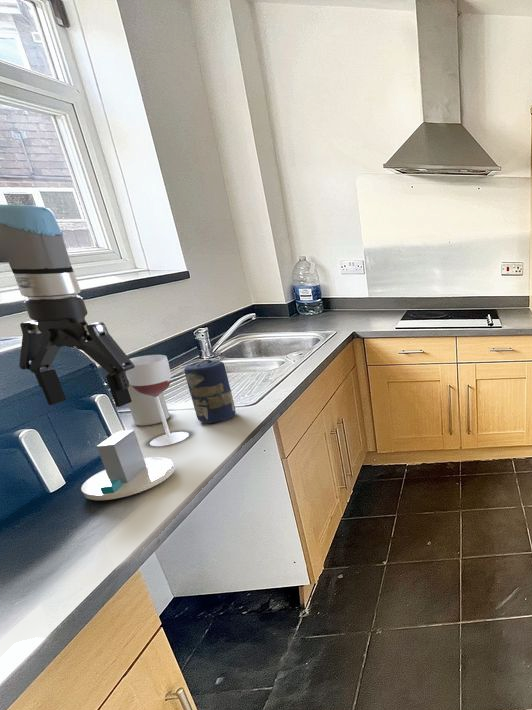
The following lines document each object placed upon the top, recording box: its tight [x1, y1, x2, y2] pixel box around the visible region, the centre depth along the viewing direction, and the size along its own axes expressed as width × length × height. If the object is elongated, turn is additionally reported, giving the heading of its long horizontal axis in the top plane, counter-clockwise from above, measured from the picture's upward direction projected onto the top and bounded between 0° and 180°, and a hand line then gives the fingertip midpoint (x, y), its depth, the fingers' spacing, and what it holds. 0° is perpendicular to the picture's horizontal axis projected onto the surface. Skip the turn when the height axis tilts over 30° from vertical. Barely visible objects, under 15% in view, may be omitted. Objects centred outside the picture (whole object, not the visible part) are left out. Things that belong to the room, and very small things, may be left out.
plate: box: [80, 429, 175, 501], centre depth 88 cm, size 15×15×10 cm
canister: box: [183, 359, 237, 424], centre depth 119 cm, size 10×10×18 cm
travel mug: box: [127, 379, 171, 427], centre depth 118 cm, size 8×8×18 cm
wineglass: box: [123, 354, 190, 447], centre depth 107 cm, size 9×10×22 cm
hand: (90, 403), depth 83 cm, fingers open, 13 cm apart
